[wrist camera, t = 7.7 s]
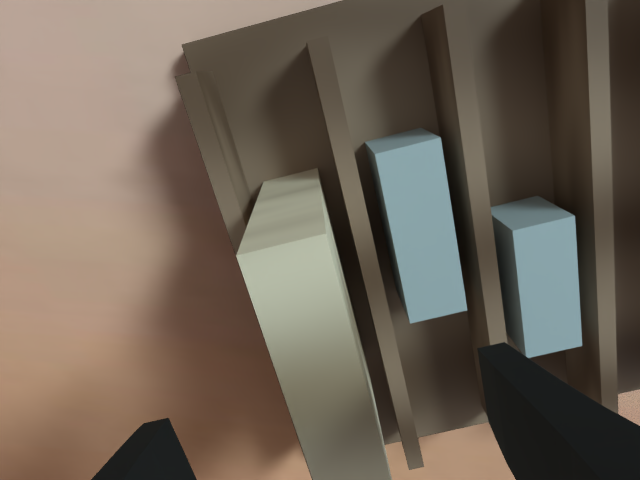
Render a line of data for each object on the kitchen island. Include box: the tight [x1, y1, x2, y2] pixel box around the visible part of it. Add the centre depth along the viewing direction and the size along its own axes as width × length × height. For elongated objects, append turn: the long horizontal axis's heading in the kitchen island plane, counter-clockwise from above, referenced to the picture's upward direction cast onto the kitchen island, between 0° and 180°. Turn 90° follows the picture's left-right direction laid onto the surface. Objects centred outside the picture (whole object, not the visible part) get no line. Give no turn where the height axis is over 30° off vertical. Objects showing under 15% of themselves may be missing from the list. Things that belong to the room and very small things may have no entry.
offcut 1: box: [365, 128, 467, 324], centre depth 16 cm, size 6×2×2 cm, turn 14°
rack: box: [175, 0, 640, 480], centre depth 17 cm, size 18×16×4 cm
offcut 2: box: [491, 196, 582, 358], centre depth 17 cm, size 5×2×2 cm, turn 14°
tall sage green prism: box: [236, 168, 392, 480], centre depth 15 cm, size 8×2×7 cm, turn 14°
